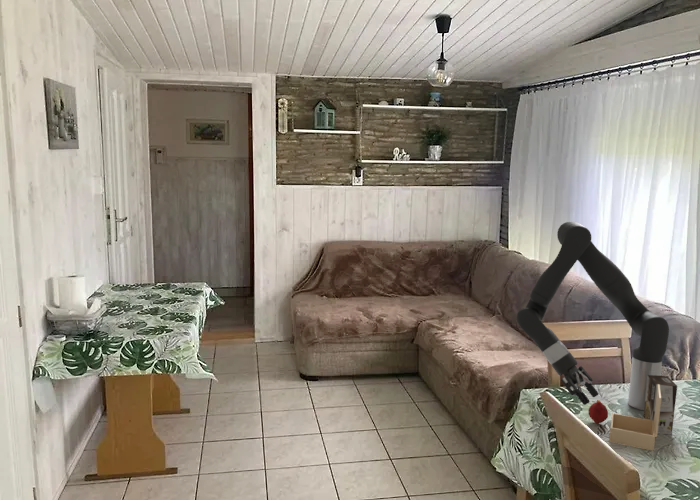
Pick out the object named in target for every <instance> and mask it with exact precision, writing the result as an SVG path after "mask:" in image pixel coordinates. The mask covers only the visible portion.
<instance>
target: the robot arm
mask: <svg viewBox="0 0 700 500" xmlns="http://www.w3.org/2000/svg"><path fill="white" fill-rule="evenodd" d="M556 234H557V235H556V236H557V241H558V243H560V245H561V246H560V249H559V252H558V254H557V255H556V258H555V259H554V260H553V262H552V263H551V264H550V265H549V266H548V267H547V268H546V269H545V271H544V272H542V274H541V275H540V277H539V278H538V279H537V281H536V283H535V285H534V287H533V288H532V290H531V292H530V295H529V300H528V303H527V305H526V306H525V307H524V308H522V309H520V310H519V311H518V312H517V313H516V321H517V324H518V326H519V327H520V328H521V329H522V331H523V332H524V333H525V334H526V335H527V336H528V337H530V339H531V340H533V342H535V344H536V345H537V347H538V348H539V350H540V351H541V352H542V354H543V355H544V357H545V359H546V360H547V361H548V363H549V364H550V365H551V366H552V368H553V370H554V371H555V373H556V374H557V375H558V376H562V375H563V376H564V377H562V378H561V380H560V381H561V383H562V384H563V385H564V387H565V388H566V389H567V390H568V392H569V393H570V395H571V396H576V397H577V398H578V399H579V400H580V402H581V404H583V405H584V406H585V405H587V404H589V403H590V402H591V401H590V399H589V398H588V397H587V395H586V394H585V393H584V391H582V386H583V387H585V389H586V391H587V392H588V393H589V394H590V396H591V397H592V398H596V397H597V396H598V395H599V394H600V393H599V392H598V391H597V389H596V388H595V387H594V385H593V381H594V380H593V378H592V377H591V376H590V375H589V373H588V372H587V371H586V370H585V368H584V367H583V366H582V365H580V366H578V367H577V365H578V361H577V360H576V359H575V356H574V355H573V354H572V352H570V351H569V349H568V348H567V346H566V345H565V344H564V343H563V342H562V341H561V340H560V338H559V337H558V336H557V335H556V334H555V332H554V331H553V330H552V329H550V328H549V327H547V326H546V325H545V324H544V322H542V321H543V319H544V317H545V314H546V311H547V309H548V307H549V305H550V303H551V301H552V299H553V298H554V296H555V294H556V293H557V291H558V289H559V288H560V286H561V284H562V283H563V281H564V279H566V277H567V275H568V273H569V272H570V271H571V270H572V268H573V267H574V266H575V264H576V262H577V261H578V262H579V264H581V266H582V267H583V269H584V271H585V272H586V274H587V275H588V276H589V278H590V279H591V280H592V282H593V283H594V285H596V288H597V289H599V291H600V292H601V293H602V294H603V295H604V296H605V297H606V298H607V299H608V300H609V302H611V304H612V305H613V306H614V307H616V309H618V311H619V312H620V313H621V315H622V316H623V317H624V319H625V320H626V322H627V323H628V324H629V327H630V328H631V329H632V331H633V332H634V333H635V334H636V335H637V336H639V337H640V341H639V342H640V343H639V346H637V347H634V348H633V351H632V358H631V369H630V379H629V390H628V401H627V404H628V406H630V407H632V408H634V409H636V410H640V411H644V407H645V395H646V385H647V375H657V376H662V366H663V358H664V356H665V354H666V351H667V348H668V341H669V335H670V333H669V332H670V328H669V322H668V321H667V319H665V317H662V316H661V315H659V314H656V313H654V312H653V311H651V310H649V309H648V308H647V307H645V305H644V304H643V303H642V302H641V301H640V299H638V297H637V296H636V294H635V292H634V287H633V285H632V284H631V282H630V280H629V279H628V277H627V276H626V275H625V274H624V272H622V270H621V269H620V268H619V267H618V266H617V265H616V264H615V262H613V261H612V260H611V259H610V258H608V256H606V255H605V254H603V252H602V251H600V250H599V249H598V248H597V246H595V244H594V243H593V241H592V233H591V231H590V230H589V229H588V227H586V226H584V225H582V224H581V223H579V222H576V221H566V222H564V223H561V225H560V226H559V228H558V229H557V233H556Z"/></svg>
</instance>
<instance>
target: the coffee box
mask: <svg viewBox="0 0 700 500" xmlns="http://www.w3.org/2000/svg"><path fill="white" fill-rule="evenodd" d="M658 384H660V392H661V405H660V415H659V424H658V434H660V435H661V434H662V435H668V436H671V435H672V434H673V429H674V428H673V426H674V418H675V417H674V416H675V407H676V403H677V402H676V401H677V400H676V399H677V394H678V393H677V391H678V385H677V384H676V383H675V382H674V381H673V380H672V379H671V378H670V377H669V376H667V375H661V376H657V375H647V385H646V395H645V407H644V410H643V418H642V419H648V420H653V421H654V415H655V405H656V396H657V386H658Z"/></svg>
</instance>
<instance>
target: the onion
mask: <svg viewBox="0 0 700 500" xmlns="http://www.w3.org/2000/svg"><path fill="white" fill-rule="evenodd" d="M588 416H589V418H590V419H591V420H592V421H593V422H594V424H597V425H598V424H602V423H603V422H605V421H606V420H607V419H608V417H609V412H608V409H607V407H606V406H605V404H603V402H601V401H600V399H597V400H596V402H593V403H592V404H591V405H590V406H589V408H588Z"/></svg>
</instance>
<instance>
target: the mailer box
mask: <svg viewBox="0 0 700 500" xmlns="http://www.w3.org/2000/svg"><path fill="white" fill-rule="evenodd" d="M660 405H661V392H660V384H658V386H657V396H656V405H655V415H654V421H653V420H648V419H643V418H641V417H637V416H631V415H624V414H620V413H616V412H615V413H614V412H611V419H610V431H609V443H612V444H613V443H614V444H618V445H624V446H628V447H633V448H638V449H643V450H647V451H651V452H653V451H655V444H656V438H657V437H658V434H659V433H658V424H659V415H660Z"/></svg>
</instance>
